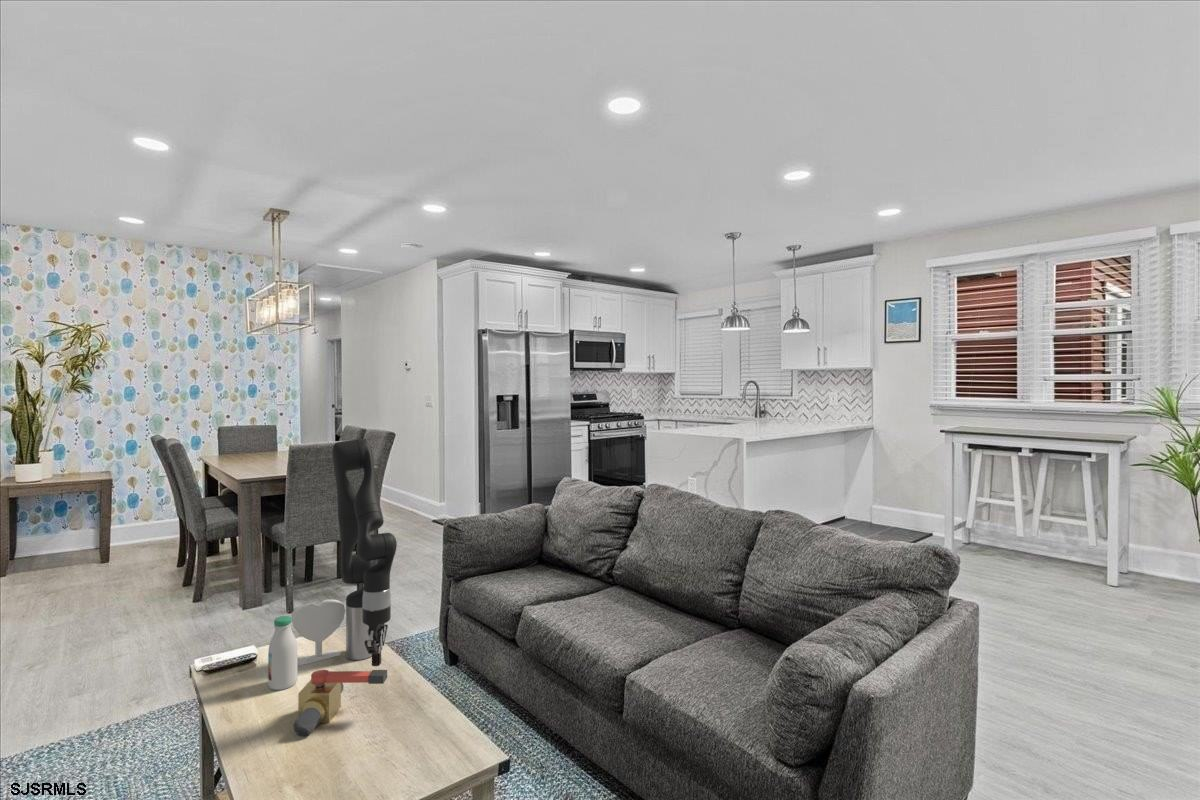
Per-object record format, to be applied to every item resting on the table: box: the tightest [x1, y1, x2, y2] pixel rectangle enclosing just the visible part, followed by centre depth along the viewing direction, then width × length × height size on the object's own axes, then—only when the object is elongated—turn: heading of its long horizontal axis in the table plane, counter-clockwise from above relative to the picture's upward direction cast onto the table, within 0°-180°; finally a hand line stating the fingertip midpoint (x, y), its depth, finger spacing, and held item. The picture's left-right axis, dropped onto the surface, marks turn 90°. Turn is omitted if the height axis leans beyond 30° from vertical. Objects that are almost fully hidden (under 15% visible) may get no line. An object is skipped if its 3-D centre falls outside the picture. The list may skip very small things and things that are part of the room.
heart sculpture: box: [291, 599, 346, 666], centre depth 199 cm, size 16×5×18 cm, turn 128°
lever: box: [310, 669, 388, 685], centre depth 165 cm, size 20×4×2 cm, turn 92°
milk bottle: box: [267, 615, 298, 691], centre depth 181 cm, size 8×8×20 cm
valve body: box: [293, 679, 345, 737], centre depth 165 cm, size 20×8×9 cm, turn 2°
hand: (376, 665), depth 172 cm, fingers closed
